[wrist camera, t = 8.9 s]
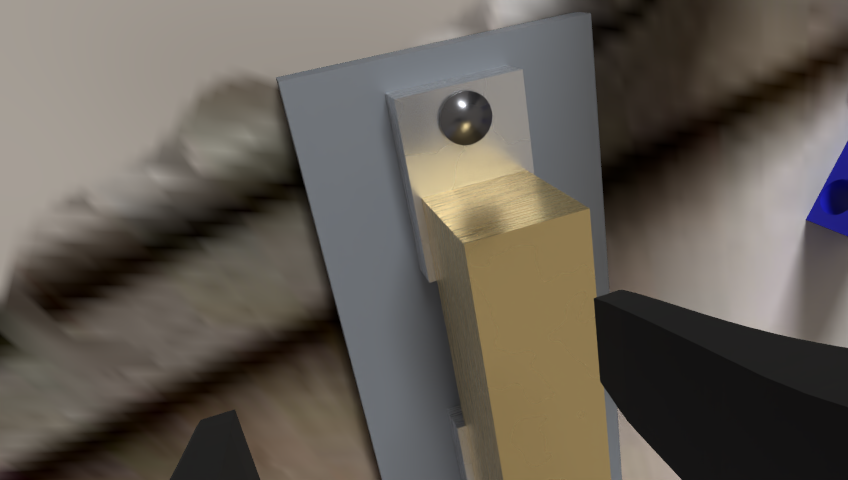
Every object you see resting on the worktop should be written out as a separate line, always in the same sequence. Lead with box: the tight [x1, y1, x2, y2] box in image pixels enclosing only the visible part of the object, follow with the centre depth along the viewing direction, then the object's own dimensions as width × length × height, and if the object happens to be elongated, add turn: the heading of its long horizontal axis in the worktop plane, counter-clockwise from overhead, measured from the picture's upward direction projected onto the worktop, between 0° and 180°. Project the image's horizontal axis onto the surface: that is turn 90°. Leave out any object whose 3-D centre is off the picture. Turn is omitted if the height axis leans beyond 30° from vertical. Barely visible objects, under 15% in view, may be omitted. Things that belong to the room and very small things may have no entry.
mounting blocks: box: [385, 65, 534, 480], centre depth 23 cm, size 4×18×1 cm, turn 11°
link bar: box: [421, 170, 611, 480], centre depth 21 cm, size 4×12×4 cm, turn 11°
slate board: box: [276, 12, 622, 480], centre depth 24 cm, size 10×20×1 cm, turn 11°
